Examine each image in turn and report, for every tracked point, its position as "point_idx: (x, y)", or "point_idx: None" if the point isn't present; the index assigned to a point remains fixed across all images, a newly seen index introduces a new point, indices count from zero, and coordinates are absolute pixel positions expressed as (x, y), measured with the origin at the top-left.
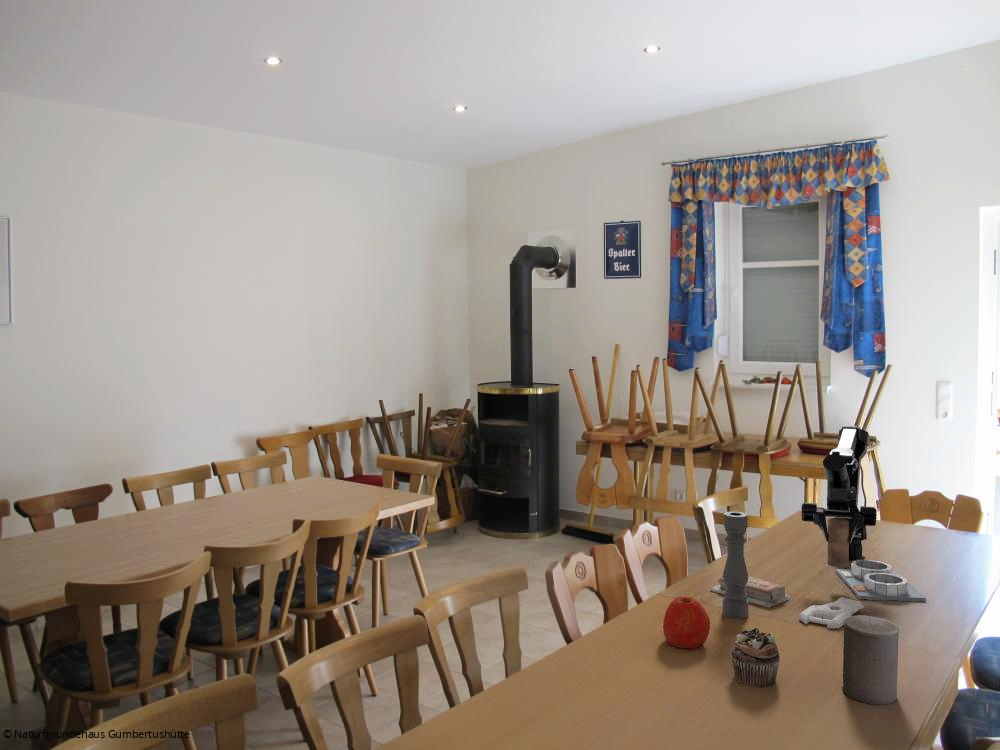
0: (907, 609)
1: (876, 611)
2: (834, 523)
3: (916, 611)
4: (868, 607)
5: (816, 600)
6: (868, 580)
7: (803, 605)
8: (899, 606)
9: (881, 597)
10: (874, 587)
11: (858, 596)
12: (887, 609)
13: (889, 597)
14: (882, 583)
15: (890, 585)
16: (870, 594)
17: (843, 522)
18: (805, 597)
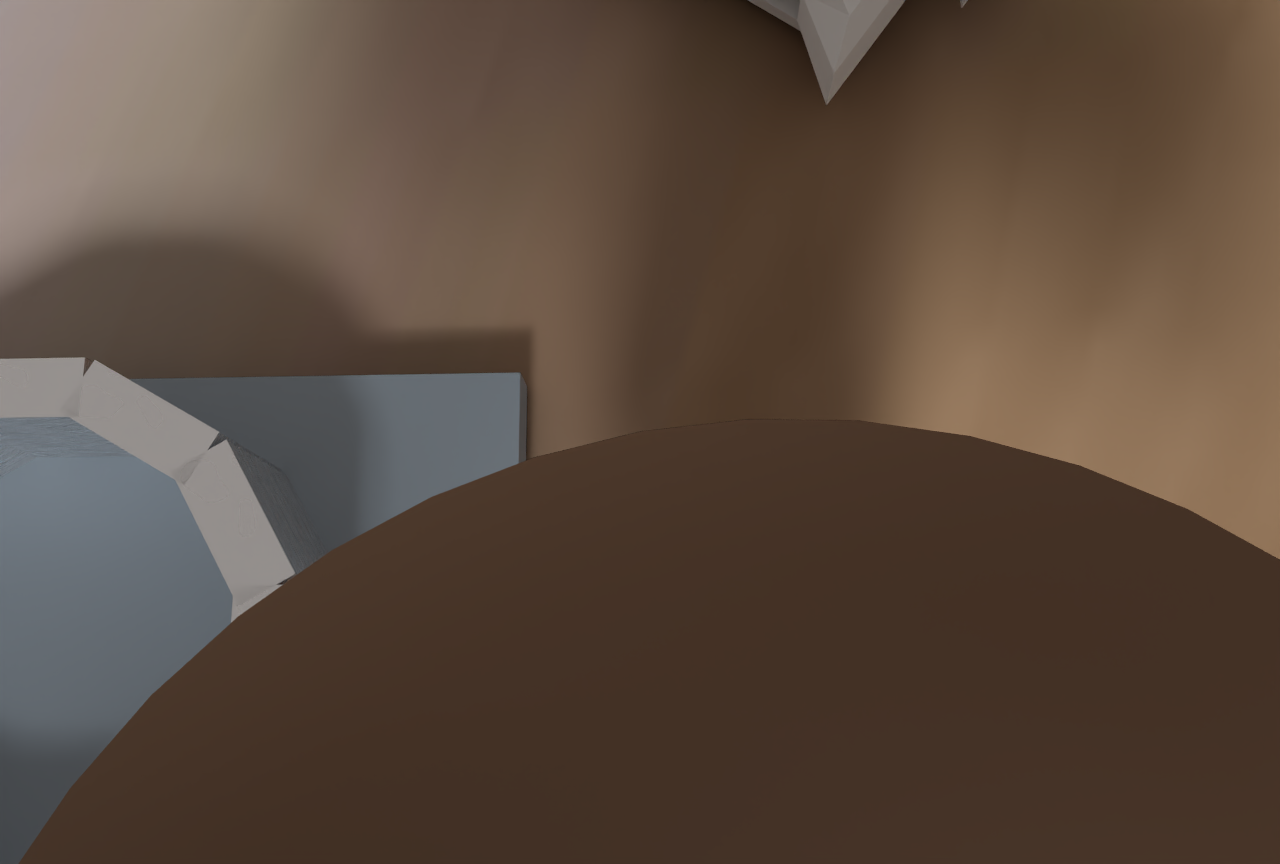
0: (80, 112)
1: (458, 8)
2: (1253, 575)
3: (9, 61)
4: (506, 124)
5: (1087, 298)
6: (285, 555)
7: (1273, 100)
8: (127, 200)
9: (244, 378)
10: (259, 463)
11: (522, 429)
12: (309, 85)
13: (142, 383)
14: (129, 400)
15: (39, 360)
16: (355, 445)
17: (551, 553)
18: (1217, 399)
